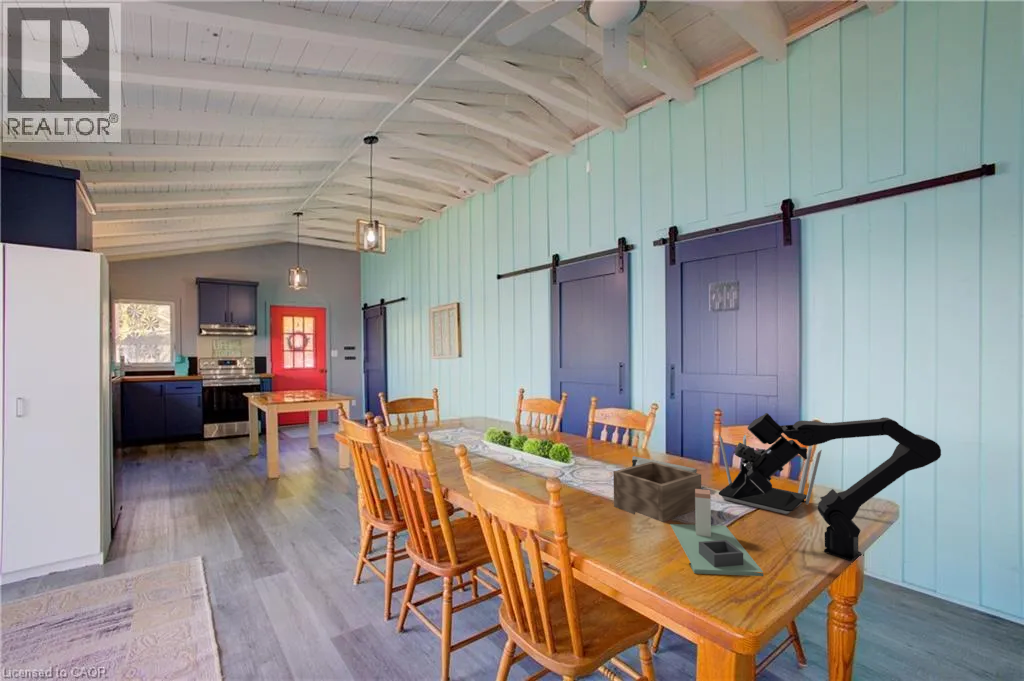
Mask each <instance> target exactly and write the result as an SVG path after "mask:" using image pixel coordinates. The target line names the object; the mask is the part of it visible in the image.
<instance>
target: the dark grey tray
mask: <svg viewBox="0 0 1024 681" xmlns="http://www.w3.org/2000/svg"><path fill="white" fill-rule="evenodd" d="M699 554H700V555H701V556H703V557H704V558H705V559H706V560H707V561H708V562H709V563H710V564H711V565H713V566H714V567H724V566H736V565H743V552H741V551H740V550H739V549H737V548H736V547H735V546H733V545H732V544H731V543H730V542H728V541H727V540H717V541H703V542H699Z"/></svg>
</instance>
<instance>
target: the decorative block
mask: <svg viewBox="0 0 1024 681" xmlns="http://www.w3.org/2000/svg"><path fill="white" fill-rule="evenodd" d="M649 462H655V463H659V464H663V465H667V466H671V467H675V468H678V469H682V470H686V471H690V472H694V473H697V471H698V470H697V468H694V467H688V466H685V465H679V464H674V463H671V462H670V463H669V462H666V461H665V462H664V461H659V460H654V459H650V458H644V457H639V456H634V455H633V456H632V460H631V463H632V464H631V467H633V466H637V465H641V464H645V463H649Z"/></svg>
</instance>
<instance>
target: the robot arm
mask: <svg viewBox="0 0 1024 681" xmlns="http://www.w3.org/2000/svg"><path fill="white" fill-rule="evenodd" d="M746 428H747V430H748V431H749V432H750V433H752V435H754V436H755V437H756V438H757V440H759V441H760V442H761V443H762V444H763V445H766V444H768V445H770V446H769V447H768V448H767V449H760V451H759V450H756V449H755V448H754V447H751V446H749V445H747V444H746V445H744V444H743V442H738V444H737V445H736V448H735V450H734V456H737V457H738V458H740V459H741V461H740V463H739V464H740V469H739V473H738V474H736V475H737V476H736V477H735V478H734V480H732V484H731V485H730V487H731V488H732V489H735V488H738V487H740V486H741V487H740V488H739V489H738V490H737V491H736V493H735V494H734V495H733V497H734V498H735V499H740V498H745V497H749V496H754V495H759V494H762V495H763V494H764V493H765V494H768V493H769V492H771V491H772V488H773V484H772V482H771V480H772V476H774V475H775V474H776V473H778V471H780V472H782V471H783V470H784V466H786V465H787V464H788V463H790V462H791V461H792V460H794V458H796V457H797V456H798V455H799V456H801V458H803V459H804V460H806V459H807V451H808V448H807V447H809V446H812V447H813V446H815V445H821V444H824V443H827V442H829V441H834V440H837V439H838V440H839V439H848V438H849V439H851V438H852V439H853V438H862V437H863V438H864V437H877V436H878V437H879V436H880V437H881V436H888V437H889V438H891V439H893V440H894V441H895V442H896V443H898V444H897V446H896V447H895V448H894V451H893V452H892V455H891V456H889V458H887V459H886V460H885V461H883V462H882V463H880V465H878V466H877V467H876V468H873V470H871V471H870V472H869V473H867V474H866V475H865V476H863V477H862V478H861V479H859V480H858V481H856V482H855V483H854V484H852V485H851V486H850V487H849V488H847V489H846V490H844V491H840V492H836V490H835V489H834V488H832V489H830V490H829V491H828V492H827V493H826V494H825V495H823V496H820V497H819V498H820V501H819V502H818V504H817V511H818V514H820V516H821V517H822V518H823V520H824V521H825V522H826V524H827V525H828V526H826V531H825V532H824V549H823V553H826V554H828V555H829V554H830V555H832V556H835V557H838V558H841V559H844V560H847V561H853V560H855V559H856V558H858V557H859V556H861V555H862V552H861V551H859V535H860V534H861V529H860V528H859V527H858V525H857V524H856V523H855V522H854V518H855V517H856V516H857V513H858V511H859V509H860V508H861V507H862V506H863V505H864V504H865V503H866V502H868V501H869V500H870V499H872V498H873V497H875V496H877V494H879V493H880V492H881V491H883V490H884V489H886V488H887V487H889V486H890V485H892V484H893V483H894V482H895V481H897V480H898V479H900V477H902V476H904V475H905V474H907V473H908V472H910V471H913V470H917V469H920V468H925V467H926V466H928V465H931V464H932V463H935V462H937V461H938V460H939V459H940V458H941V456H942V449H941V446H940V445H939V444H938V442H936V441H935V440H933V439H930V438H928V437H926V436H924V435H921V434H917V433H916V434H915V433H914V432H912V431H910V430H909V429H908V428H906V427H904V426H902V425H901V424H899V422H897V421H896V420H894V419H892V418H889V417H880V418H877V419H876V418H873V419H872V418H871V419H862V420H860V419H859V420H851V421H840V422H837V421H836V422H821V421H817V420H815V421H813V420H799V421H796V422H794V424H787V425H786V424H785V425H780V424H779V423H777V422H776V420H774V418H773V417H772V416H771V415H770V414H769V413H768V412H766V413H764V414H762V415H761V416H759V417H757V418H755V419H754V420H752V421H751V422H750V424H749V425H748V426H747V427H746ZM783 435H785V436H786V437H787V438H788V439H790V440H788V439H787V438H786V437H784V436H783ZM795 440H796V441H797V442H798V443H799V444H800V445H802V446H800V445H799V444H798V443H797V442H796V441H795ZM804 446H806V447H804ZM743 463H744V464H743Z"/></svg>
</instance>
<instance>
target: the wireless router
mask: <svg viewBox="0 0 1024 681" xmlns="http://www.w3.org/2000/svg"><path fill="white" fill-rule="evenodd" d="M718 437H719V443H720V449H721V453H722V457H723V462H724V463H723V464H724V468H725V471H726V477H727V481H728V485H726V486H725V487H724V488H722V489H721V490H719V491H718V495H719V496H721V498H722V499H723V500H726V501H731V502H734V503H737V504H742V505H747V506H750V507H754V508H758V509H762V510H768V511H771V512H773V513H774V512H775V513H779V514H784V515H788V514H790V513H791V512H793V511H795V509H797V508H798V507H799V506H801V505H802V504H805V505H809V504H810V501H811V496H812V492H813V487H814V484H815V480H816V475H817V470H818V466H819V463H820V460H821V459H820V458H821V454H822V449H821V450H819V451H818V452H817V453H816V456H815V460H814V463H813V464H814V465H813V468H812V473H811V477H810V480H809V486H808V490H807V494H804V493H805V487H806V483H807V477H808V471H809V466H810V461H811V456H812V450H813V446H807V459H804V461H805V462H804V465H803V469H802V473H801V478H800V482H799V486H798V490H797V492H795V491H790V490H786V489H781V488H776V487H772V491H771V492H769V493H768V494H765V493H764V494H763V495H762V494H759V495H754V496H749V497H745V498H740V499H735V498H734V497H733V495H734V494H735V493H736V491H737V490H738V489H739V488H740V487H741V486H740V487H738V488H735V489H732V488H731V487H730V485H731V484H732V482H733V480H732V478H731V477H732V476H731V472H730V467H729V464H728V459H727V455H726V454H727V453H726V450H725V443H724V441H723V437H722V436H721V435H720V434H719V435H718ZM742 444H744V445H746V446H747V435H746V434H744V435H743V438H742ZM742 463H743V462H742ZM743 464H744V463H743Z"/></svg>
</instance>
